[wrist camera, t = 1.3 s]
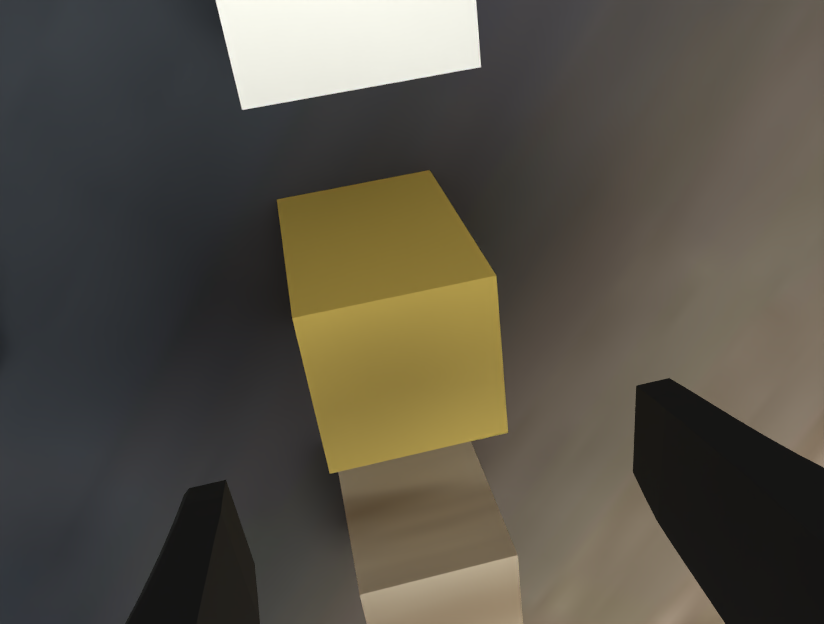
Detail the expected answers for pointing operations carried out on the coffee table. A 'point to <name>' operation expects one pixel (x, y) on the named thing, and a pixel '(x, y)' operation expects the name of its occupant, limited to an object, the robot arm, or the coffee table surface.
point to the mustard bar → (392, 320)
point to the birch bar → (430, 541)
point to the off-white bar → (343, 44)
